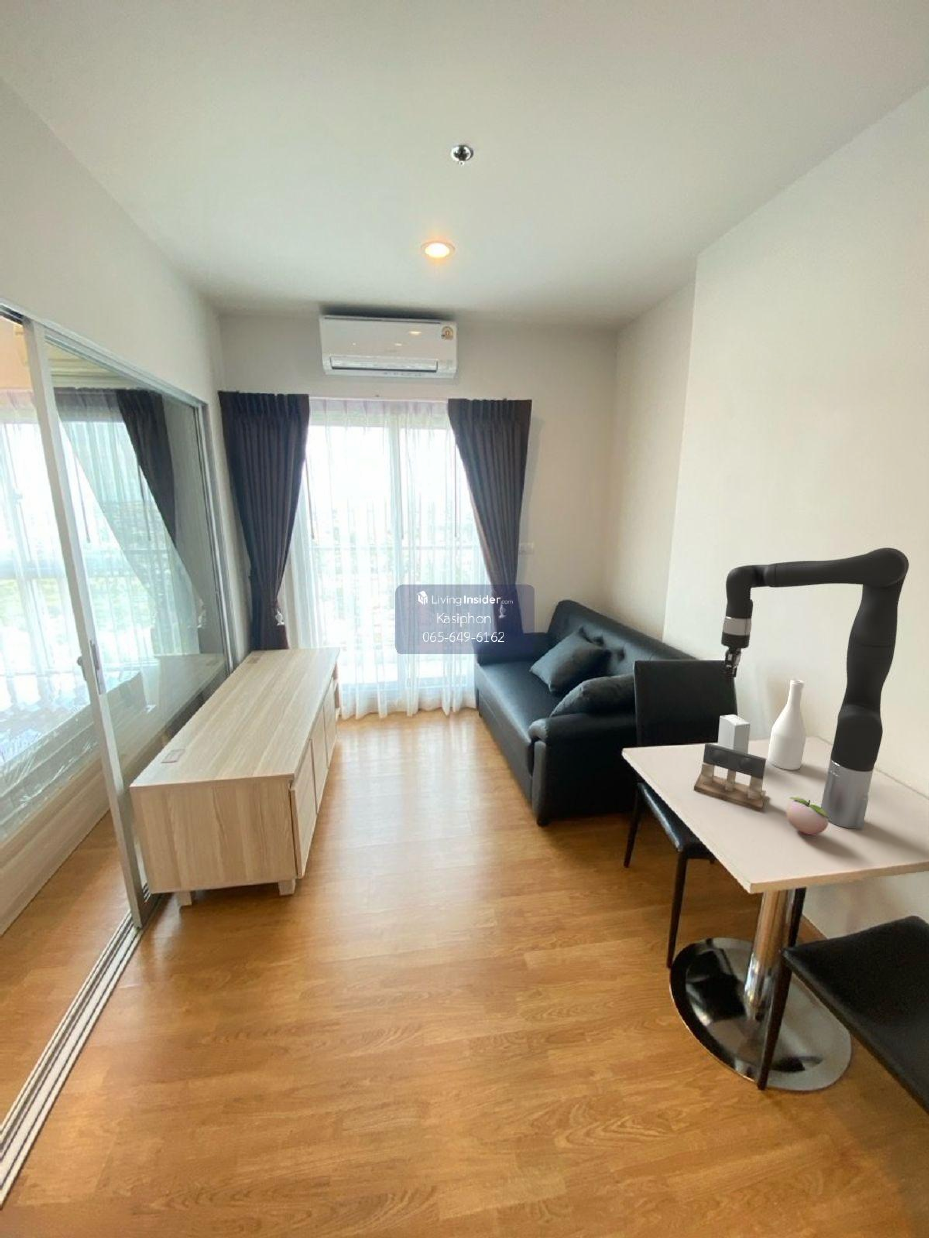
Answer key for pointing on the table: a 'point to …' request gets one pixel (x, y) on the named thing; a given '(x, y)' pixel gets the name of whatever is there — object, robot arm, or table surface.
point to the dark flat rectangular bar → (734, 760)
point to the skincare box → (734, 733)
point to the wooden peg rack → (731, 788)
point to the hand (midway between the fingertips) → (729, 680)
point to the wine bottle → (789, 732)
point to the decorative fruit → (806, 816)
